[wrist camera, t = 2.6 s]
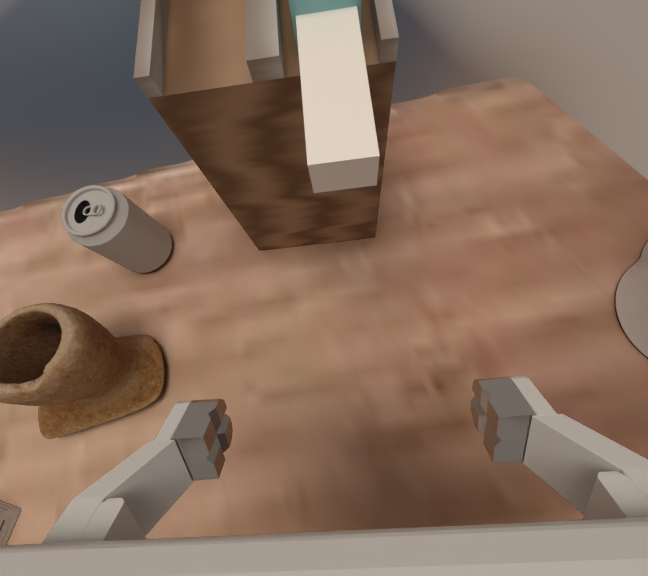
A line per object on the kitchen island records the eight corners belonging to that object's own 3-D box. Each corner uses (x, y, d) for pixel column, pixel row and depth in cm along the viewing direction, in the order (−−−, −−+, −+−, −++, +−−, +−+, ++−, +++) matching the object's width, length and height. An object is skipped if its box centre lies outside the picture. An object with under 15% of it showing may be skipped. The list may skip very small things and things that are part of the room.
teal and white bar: (345, -58, 24) (342, -153, 20) (381, 184, 19) (388, 124, 14) (290, -48, 24) (276, -141, 20) (309, 193, 19) (295, 136, 14)
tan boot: (161, 314, 46) (71, 282, 31) (174, 403, 42) (80, 413, 28) (55, 347, 46) (-83, 329, 31) (60, 438, 42) (-93, 466, 28)
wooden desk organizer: (364, 162, 49) (375, -179, 19) (374, 237, 46) (407, -36, 16) (257, 176, 50) (112, -126, 20) (259, 250, 47) (89, 18, 17)
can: (130, 226, 50) (63, 179, 38) (179, 226, 49) (124, 177, 38) (120, 275, 48) (46, 240, 36) (170, 275, 47) (110, 239, 36)
